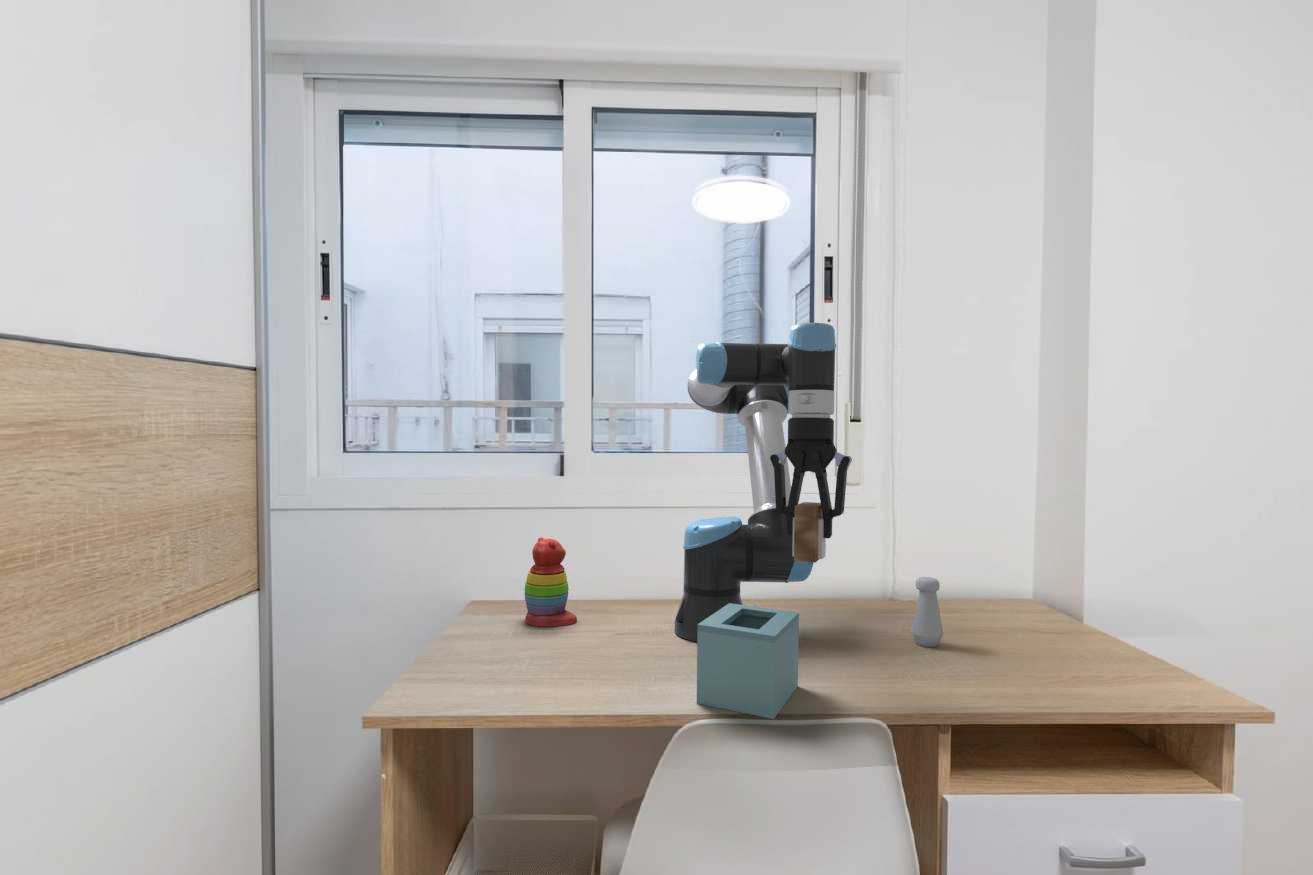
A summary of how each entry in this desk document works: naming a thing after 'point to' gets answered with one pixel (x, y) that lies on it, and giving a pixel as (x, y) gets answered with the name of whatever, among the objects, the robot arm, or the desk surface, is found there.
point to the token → (806, 531)
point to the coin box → (748, 659)
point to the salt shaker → (927, 614)
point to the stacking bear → (547, 586)
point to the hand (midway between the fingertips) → (808, 556)
